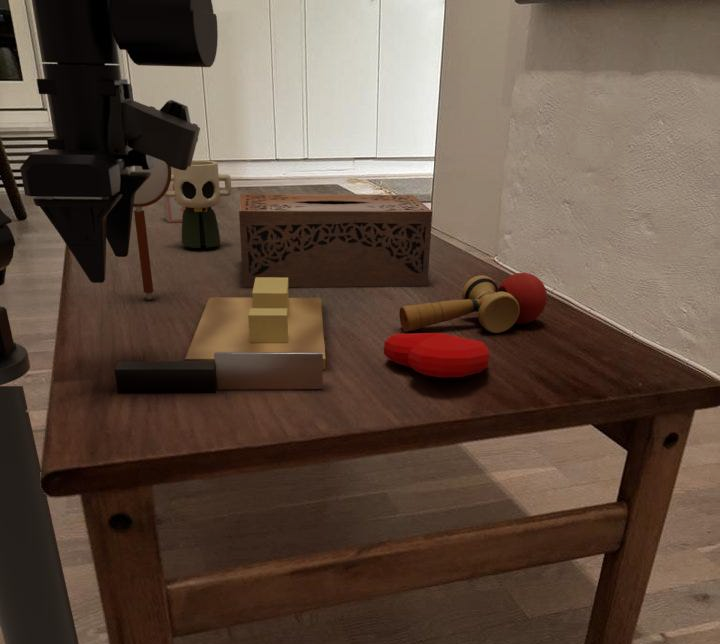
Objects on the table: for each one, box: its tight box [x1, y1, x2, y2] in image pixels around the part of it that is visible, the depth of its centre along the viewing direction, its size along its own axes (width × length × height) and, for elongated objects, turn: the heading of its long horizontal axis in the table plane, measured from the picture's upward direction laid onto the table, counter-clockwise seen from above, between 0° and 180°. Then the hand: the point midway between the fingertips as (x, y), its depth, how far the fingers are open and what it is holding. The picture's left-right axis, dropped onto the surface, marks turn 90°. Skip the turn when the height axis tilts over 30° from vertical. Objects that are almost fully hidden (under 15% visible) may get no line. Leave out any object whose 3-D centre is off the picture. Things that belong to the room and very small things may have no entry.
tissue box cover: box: [238, 193, 433, 289], centre depth 106 cm, size 26×14×10 cm, turn 97°
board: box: [184, 296, 327, 371], centre depth 84 cm, size 14×22×1 cm, turn 4°
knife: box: [114, 352, 324, 395], centre depth 69 cm, size 19×2×4 cm, turn 94°
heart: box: [383, 332, 490, 378], centre depth 74 cm, size 12×4×10 cm
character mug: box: [164, 159, 232, 249], centre depth 119 cm, size 11×7×13 cm, turn 106°
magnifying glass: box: [133, 157, 171, 301], centre depth 90 cm, size 9×2×20 cm, turn 99°
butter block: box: [251, 277, 290, 310], centre depth 88 cm, size 4×7×3 cm, turn 4°
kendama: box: [398, 272, 548, 334], centre depth 87 cm, size 8×6×18 cm
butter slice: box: [248, 308, 288, 343], centre depth 78 cm, size 4×2×3 cm, turn 94°
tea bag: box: [162, 167, 185, 224], centre depth 140 cm, size 4×7×10 cm, turn 116°
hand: (110, 268), depth 65 cm, fingers open, 9 cm apart
